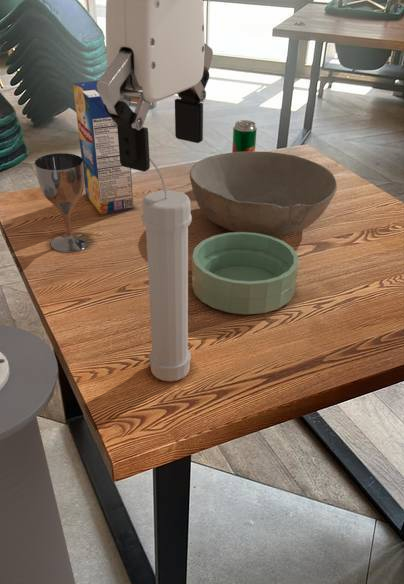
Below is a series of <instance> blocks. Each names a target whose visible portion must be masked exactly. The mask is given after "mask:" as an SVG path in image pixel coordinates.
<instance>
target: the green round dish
mask: <svg viewBox="0 0 404 584" xmlns="http://www.w3.org/2000/svg"><path fill="white" fill-rule="evenodd" d="M192 251H193V252H192V254H191V287H192V290H193V292H194V293H193V294H194V295H195V296H196V297H197V298H198V299H199V300H200V301H201V302H202V303H204V304H206V305H207V306H209V307H211V308H213V309H215V310H218V311H222V312H225V313H226V312H227V313H230V314H238V315H256V314H257V315H258V314H265V313H269V312H272V311H275V310H279V309H280V308H282V307H283V306H285V305H287V304H289V302H290V301H291V300H292V298H293V297H294V295H295V291H296V284H297V277H298V271H299V255H298V253H297V252H296V250H295V249H294V248H293V247H292V246H291V245H289V244H288V243H287V242H286V241H284V240H282V239H280V238H278V237H272V236H268V235H263V234H259V233H250V232H233V231H231V232H224V233H220V234H216V235H212V236H210V237H208V238H205V239H203V240H201V241H200V242H199V243H198V244H197V245H196V246H195V247H194V248H193V250H192Z"/></svg>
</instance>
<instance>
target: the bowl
mask: <svg viewBox="0 0 404 584" xmlns="http://www.w3.org/2000/svg"><path fill="white" fill-rule="evenodd" d="M189 181H190V185H191V189H192V192H193V195H194V198H195V200H196V203H197V206H198V207H199V209H200V210H201V212H202V213H203V215H204V216H205V217H206V218H207V219H208V220H210V222H213V223H214V224H215V225H217V226H219V227H221V228H224V229H225V230H228V231H231V232H250V233H259V234H263V235H268V236H272V237H274V238H283V237H287V236H291V235H295V234H298V233H300V232H302V231H304V230H305V229H307V228H308V227H310V226H311V225H313V224H314V223H315V222H316V221H317V220H318V219H319V218H320V217H321V216H322V215H323V213H324V212H325V211H326V210H327V208H328V206H329V205H330V204H331V202H332V200H333V199H334V196H335V195H336V193H337V190H338V183H337V179H336V177H335V176H334V174H333V173H332V172H331V170H329V168H326V167H324V166H323V165H321V164H319V163H317V162H314V161H312V160H310V159H306V158H304V157H300V156H297V155H293V154H288V153H282V152H273V151H256V150H255V151H248V152H233V153H232V152H226V153H219V154H215V155H211V156H210V155H209V156H208V157H205V158H202V159H200V160H198V161H197V162H195V163H194V164H193V165H192V166H191V168H190V171H189Z"/></svg>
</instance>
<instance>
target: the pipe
mask: <svg viewBox="0 0 404 584" xmlns="http://www.w3.org/2000/svg"><path fill="white" fill-rule="evenodd" d="M149 159H150V164H152V166H153V167H154V168H155V170H156V172H157V173H158V175H159V179H160V180H161V184H162V186H163V189H161V190H156V191H151V192H149V193H148V194H146V195H144V196H143V198H142V201H141V202H142V203H141V204H142V205H141V206H142V215H141V222H142V224H143V226H145V235H146V236H145V237H146V255H147V275H148V297H149V315H150V317H149V319H150V337H151V338H150V339H151V350H150V352H149V354H148V358H149V359H148V360H149V363H150V371H151V373H152V375H153V376H154V377H155V378H156V379H158V380H160V381H163V382H169V383H170V382H177V381H180V380H183V379H184V378H185V377H186V376H188V374H189V372H190V369H191V359H192V354H191V351H190V349H189V226H190V225H191V224H192V220H193V216H192V214H191V210H192V209H191V199H190V197H189V195H187V194H186V193H184V192H181V191H178V190H172V189H171V190H170V189H169V190H168V189H167V186H166V184H165V181H164V178H163V176H162V173H161V171H160V170H159V168H158V166H157V165H156V164H155V162H154V161H153V160H152V158H151V157H149Z"/></svg>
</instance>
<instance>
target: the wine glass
mask: <svg viewBox="0 0 404 584" xmlns="http://www.w3.org/2000/svg"><path fill="white" fill-rule="evenodd" d="M34 168H35V173H36V178H37V182H38V185H39V187H40V190H41V192H42V194H43V196H44V197H45V198H46V200H47V201H49V202H50V203H51V204H52V205H53V206H54V207H56V208H57V209H58V210H59V212H60V213H61V215H62V217H63V220H64V224H65V229H66V233H65V234H61V235H58V236H56V237H55V238H53V239H52V240H51V241H50V246H51V248H52V249H53V250H55V251H58V252H61V253H73V252H78V251H81V250H84V249H86V248H87V247H89V246H90V244H91V239H90V237H88V236H86V235H85V234H81V233H72V228H71V227H72V226H71V213H72V210H73V208H74V206H75V205H76V204H77V202H78V201H79V200H80V199H81V197H82V195H83V191H84V189H85V182H84V165H83V159H82V157H81V155H77V154H74V153H68V152H67V153H64V152H62V153H61V152H59V153H49V154H46V155H43V156H40V157H38V158H36V160H35V161H34Z"/></svg>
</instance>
